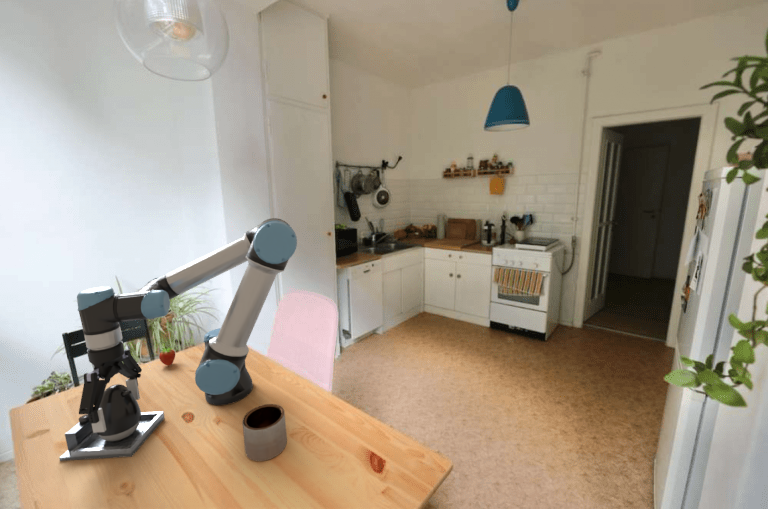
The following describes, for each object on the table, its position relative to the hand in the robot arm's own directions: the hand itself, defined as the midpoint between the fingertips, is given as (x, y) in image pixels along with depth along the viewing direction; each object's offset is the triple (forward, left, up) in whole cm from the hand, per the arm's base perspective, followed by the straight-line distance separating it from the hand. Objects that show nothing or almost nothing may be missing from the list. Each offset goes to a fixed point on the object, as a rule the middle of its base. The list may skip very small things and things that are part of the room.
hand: (118, 414), depth 93 cm
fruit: (+10, -41, -8) cm, 43 cm away
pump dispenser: (0, 0, -7) cm, 7 cm away
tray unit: (+2, 0, -8) cm, 8 cm away
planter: (-42, +7, -8) cm, 44 cm away
